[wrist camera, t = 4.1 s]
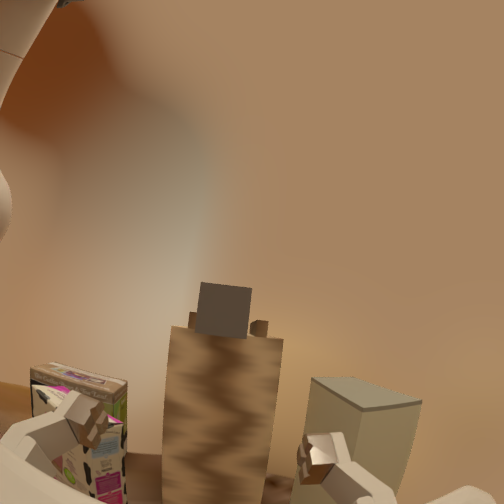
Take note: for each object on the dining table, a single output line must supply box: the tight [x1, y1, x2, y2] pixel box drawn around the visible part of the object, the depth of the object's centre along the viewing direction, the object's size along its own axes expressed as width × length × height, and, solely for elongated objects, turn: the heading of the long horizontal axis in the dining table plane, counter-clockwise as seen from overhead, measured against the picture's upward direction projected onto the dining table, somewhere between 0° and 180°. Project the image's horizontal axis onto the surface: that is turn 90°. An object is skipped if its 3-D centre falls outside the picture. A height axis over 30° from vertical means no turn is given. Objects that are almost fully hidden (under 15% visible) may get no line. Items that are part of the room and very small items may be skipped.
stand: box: [162, 312, 283, 504], centre depth 27 cm, size 10×14×28 cm
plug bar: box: [195, 282, 252, 339], centre depth 26 cm, size 3×22×3 cm, turn 3°
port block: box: [289, 377, 422, 504], centre depth 16 cm, size 4×12×22 cm, turn 3°
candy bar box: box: [32, 385, 128, 504], centre depth 16 cm, size 11×5×16 cm, turn 69°
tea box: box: [30, 362, 127, 456], centre depth 31 cm, size 15×10×15 cm, turn 103°
